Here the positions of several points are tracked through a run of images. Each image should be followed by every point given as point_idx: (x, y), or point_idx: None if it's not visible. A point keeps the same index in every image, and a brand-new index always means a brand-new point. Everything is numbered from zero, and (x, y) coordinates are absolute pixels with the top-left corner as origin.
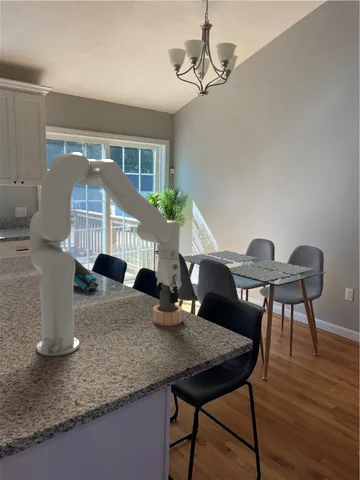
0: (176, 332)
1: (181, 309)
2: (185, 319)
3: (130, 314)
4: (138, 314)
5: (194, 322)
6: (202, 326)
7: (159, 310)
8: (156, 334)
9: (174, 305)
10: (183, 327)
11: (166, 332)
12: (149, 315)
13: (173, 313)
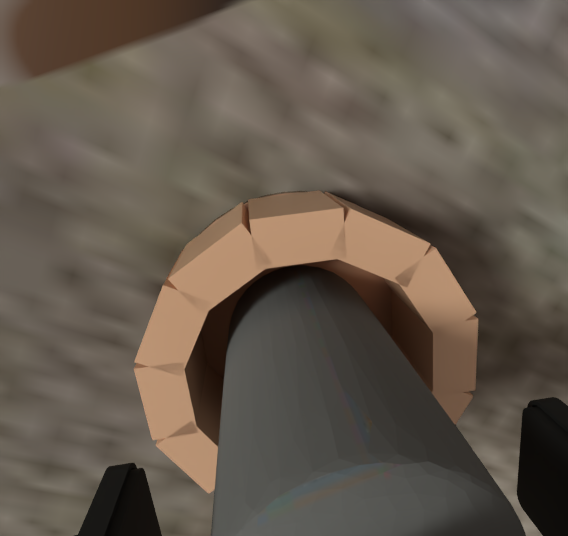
0: (538, 341)
1: (420, 252)
2: (335, 154)
3: (60, 527)
4: (75, 478)
5: (441, 107)
6: (558, 84)
7: (207, 400)
8: (494, 463)
9: (402, 354)
10: (488, 255)
11: (501, 401)
12: (124, 411)
13: (472, 373)
